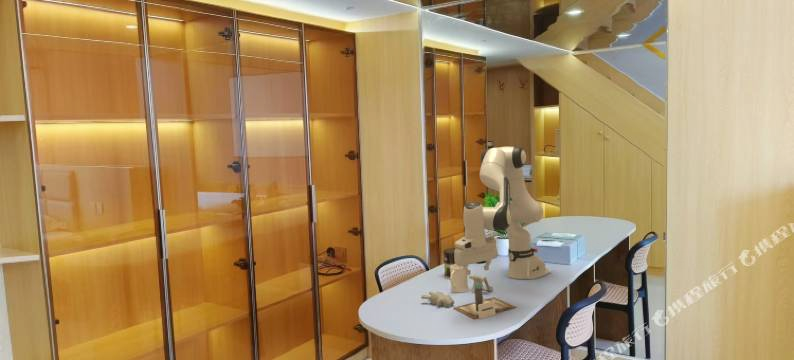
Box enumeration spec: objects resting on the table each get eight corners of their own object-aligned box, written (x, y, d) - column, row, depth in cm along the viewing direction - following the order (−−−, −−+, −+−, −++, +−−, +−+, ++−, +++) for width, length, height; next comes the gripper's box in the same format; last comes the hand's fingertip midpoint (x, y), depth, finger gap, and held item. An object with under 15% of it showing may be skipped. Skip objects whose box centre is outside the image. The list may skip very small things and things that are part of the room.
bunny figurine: (445, 301, 239) (419, 292, 249) (445, 312, 240) (419, 302, 250) (458, 295, 246) (432, 286, 256) (457, 306, 247) (431, 296, 257)
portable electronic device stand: (493, 291, 261) (492, 274, 260) (482, 295, 256) (481, 278, 255) (478, 287, 267) (477, 271, 266) (468, 292, 262) (467, 275, 261)
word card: (494, 314, 230) (493, 300, 229) (495, 314, 229) (494, 301, 229) (478, 318, 227) (478, 304, 226) (479, 319, 226) (478, 305, 225)
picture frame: (494, 298, 250) (494, 295, 250) (516, 307, 236) (516, 304, 236) (453, 308, 241) (453, 305, 241) (474, 319, 226) (473, 316, 226)
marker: (480, 308, 237) (479, 282, 236) (485, 310, 234) (483, 284, 233) (474, 310, 235) (472, 284, 234) (478, 312, 232) (477, 285, 231)
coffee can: (446, 279, 285) (444, 253, 283) (443, 274, 295) (442, 248, 293) (465, 277, 285) (464, 251, 283) (462, 272, 295) (461, 247, 294)
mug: (457, 295, 258) (455, 271, 257) (443, 292, 264) (441, 268, 262) (472, 288, 266) (470, 264, 265) (458, 286, 272) (456, 262, 271)
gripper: (490, 235, 239) (492, 265, 240) (451, 243, 230) (453, 275, 231) (499, 237, 233) (501, 268, 235) (459, 246, 224) (461, 278, 226)
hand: (477, 272), depth 233 cm, fingers open, 8 cm apart
